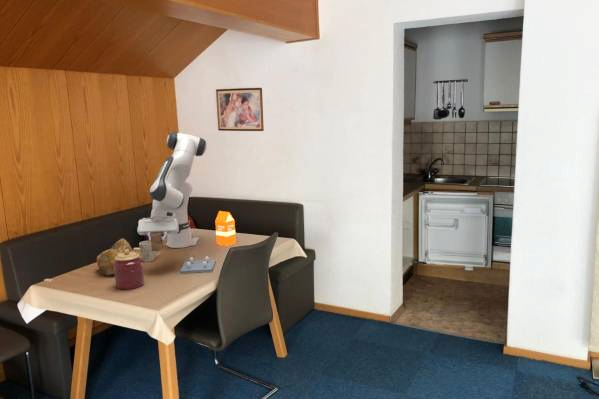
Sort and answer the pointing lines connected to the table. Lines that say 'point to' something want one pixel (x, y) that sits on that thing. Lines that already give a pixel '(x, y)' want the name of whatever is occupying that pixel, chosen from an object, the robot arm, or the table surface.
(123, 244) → the rough brown rock
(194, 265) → the peg seat
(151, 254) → the mug
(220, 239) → the orange juice
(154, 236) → the walnut block
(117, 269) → the canister
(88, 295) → the table surface
